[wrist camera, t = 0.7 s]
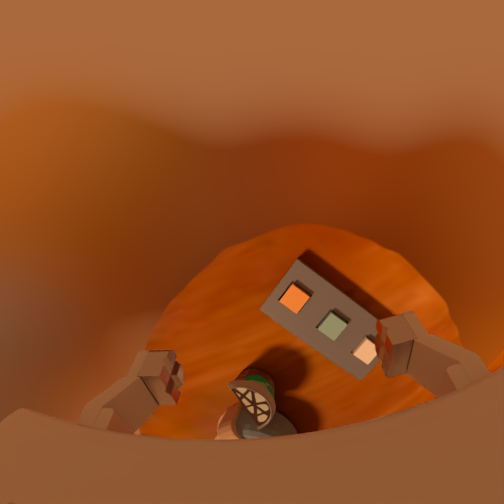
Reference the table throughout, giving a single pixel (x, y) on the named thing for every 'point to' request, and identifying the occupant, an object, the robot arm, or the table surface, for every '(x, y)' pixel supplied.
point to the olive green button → (332, 325)
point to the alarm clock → (250, 425)
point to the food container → (256, 394)
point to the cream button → (365, 350)
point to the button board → (314, 312)
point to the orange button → (294, 298)
